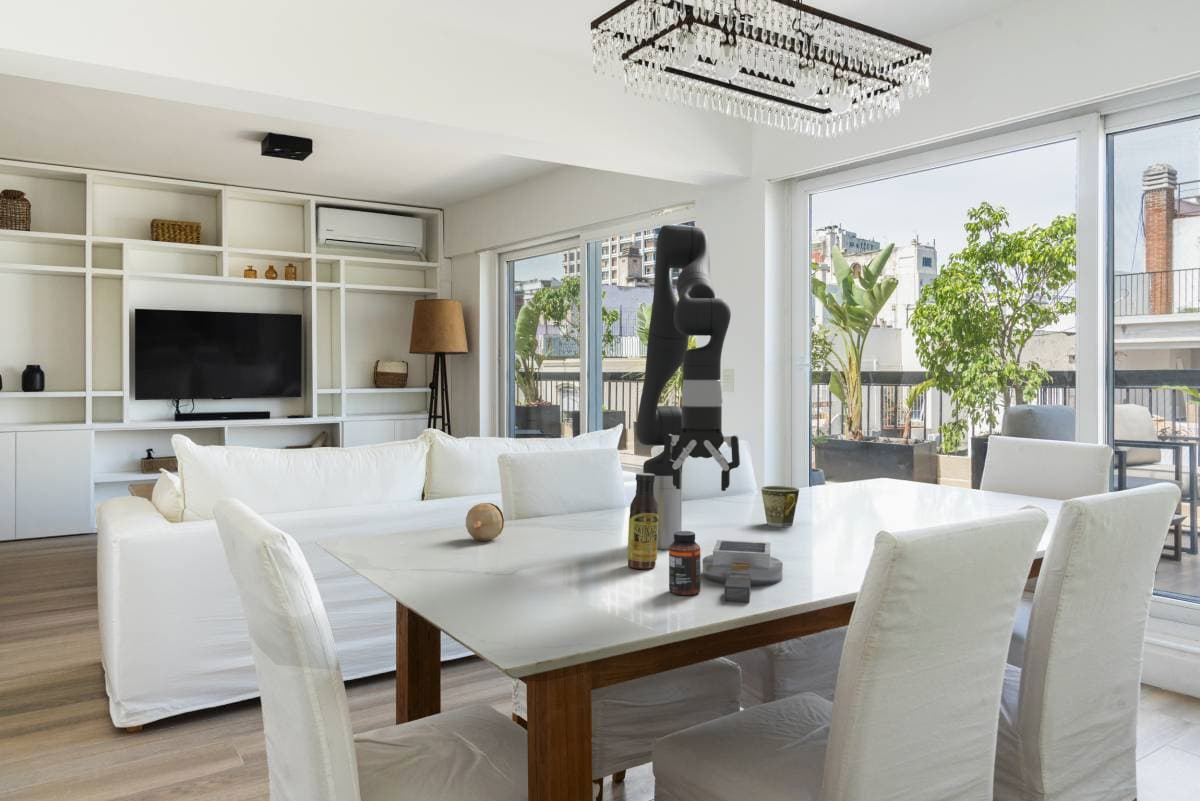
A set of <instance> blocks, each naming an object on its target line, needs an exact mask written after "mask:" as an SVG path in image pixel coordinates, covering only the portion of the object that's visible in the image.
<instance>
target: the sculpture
mask: <svg viewBox="0 0 1200 801" xmlns="http://www.w3.org/2000/svg"><path fill="white" fill-rule="evenodd" d="M465 527H466V530H467V533H468V534H469V535H470V537H471V538H473V539H475V540H476V541H481V542H489V541H493V540H494V539H496V538H497V537H498V536H499V535H501V534H502V532H503V530H504V527H505V517H504V513H503V511H502V510H501V508H500V507H499V506H498V505H496V504H494V503H490V502H487V503H486V502H480V503H477V504H474V505H473V506H472V507H471V508H470V509H468V512H467V514H466V517H465Z"/></svg>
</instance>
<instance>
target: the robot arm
mask: <svg viewBox="0 0 1200 801" xmlns="http://www.w3.org/2000/svg"><path fill="white" fill-rule="evenodd" d="M710 262H711V260H710V243H709V237H708V235H707V232H706V231H705V230H704V229H703V228H700V227H696V226H683V225H670V224H666V225H662V226H661V227H660V229H659V232H658V234H657V240H656V247H655V263H654V264H655V267H654V283H653V284H654V285H653V298H652V306H651V314H650V322H649V327H648V335H647V336H648V337H647V344H646V345H647V346H646V359H645V360H646V361H645V372H644V378H643V385H642V390H641V395H640V401H639V405H638V406H639V407H638V413H637V419H636V436H637V440H638V441H639V443H640V444H642V445H644V446H645V445H646V446H663V451H662V452H660V453H659V454H658V455H656V456H654V457H652V458H648V459H647V460H645V461H644V462H643V465H642V466H643V467H642V468H643V469H642V473H650V474H655V481H654V497H655V500H656V502H657V504H658V537H657V550H669V546H670V545H671V544H672V543H673V542H674V541H675V540H674V533H675V532H677V531H683V528H682V526H683V525H682V523H683V515H682V513H683V500H682V499H683V466H684V463H685V461H686V460H687V458H689V457H691V458H692V459H697V458H703V459H709V458H714V460H715V461H716V463H718V465H720V468H721V469H722V470H721V477H720V478H721V480H720V481H721V483H720V484H721V485H720V488H721V489H720V490H721V492H725V491H727V489H728V488H729V486H730V484H731V481H730V480H731V479H730V477H731V470H733V469H737V468H739V466H740V465H741V461H740V460H741V459H740V443H739V442H740V440H739V436H738V435H735V434H734V435H729V436H728V435H727V436H725V435H724V434H723V432H722V431H723V430H722V426H723V425H722V421H723V419H722V418H723V416H722V415H723V414H722V412H723V410H722V409H723V408H722V407H723V406H722V405H723V395H722V393H723V392H722V384H721V375H722V374H721V369H722V368H721V362H722V351H723V348H724V344H725V338H726V335H727V332H728V328H729V326H730V321H731V314H732V313H731V308H730V305H729V304H728V302H727V301H726V300H724V299H723V298H719V297H718V298H716V294H715V291H714V286H713V283H712V279H711V272H710V271H711V266H710V264H711V263H710ZM671 269H679V270H680V269H681V272H680V273H679V274H678V277H677V279H676V291H677V295H678V297H677V296H676V294H675V291H674V288H673V286H672V283H671V277H670V271H671ZM677 298H678V299H677ZM690 336H693V337H694V336H697V337H698V336H703V337H704V336H710V338H709V341H708V343H706V344H705V345H702V346H699V347H694V348H689V349H688V347H689V339H690ZM681 366H682V367H683V368H682V369H683V370H682V376H683V378H682V380H683V381H682V387H681V407H680V406H677V405H675V406H674V405H659V402H660V399H661V395H662V393H663V391H664V390H665V389H664V388H665V387H666V386H667V384H668V383H669V381H670V380H671V379H672V377H674V375H675V374H676V372H677V371H679V368H680V367H681ZM724 443H726V444H727V447H728V448H731V461H730V462H728V461H727V459H726V457H725V456H724V454H723V453H722V452H721V451H720V448H721V447H722V445H723V444H724Z"/></svg>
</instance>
